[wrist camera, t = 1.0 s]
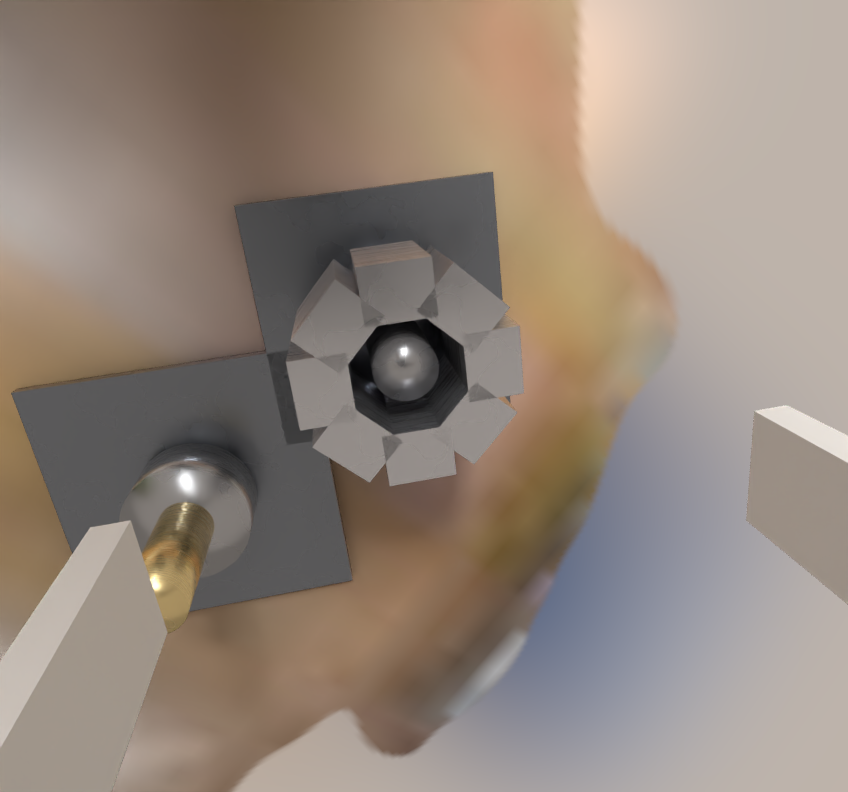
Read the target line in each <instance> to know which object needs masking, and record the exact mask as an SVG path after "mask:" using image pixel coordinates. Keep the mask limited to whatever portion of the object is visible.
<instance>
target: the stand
mask: <svg viewBox="0 0 848 792" xmlns="http://www.w3.org/2000/svg"><path fill="white" fill-rule="evenodd" d="M234 207H235V211H236V216H237V221H238V225H239V230H240V234H241V239H242V243H243V248H244V253H245V257H246V262H247V266H248V271H249V275H250V280H251V285H252V289H253V294H254V298H255V303H256V307H257V312H258V317H259V321H260V326H261V330H262V335H263V339H264V344H265V348H266V353H267V354H268V353H269V354H268V355H270V356H271V357H272V355H273V354H275V353H274V352H276V354H278V352H280V353H279V354H281V352H283V351H287V352H288V350H289V345H290V341H291V336H292V331H293V327H294V322H295V317H296V313H297V309H298V307H299V306H300V305H301V303H302V302H303V301H304V299H305V298H306V296H307V295H308V294H309V292H310V291H311V289H312V288H313V287H314V285H315V284H316V283H317V281H318V280H319V278H320V277H321V276H322V274H323V273H324V271H325V270H326V269H327V267H328V266H329V264H330V263H331V262H332V260H333V259H334V260H336V261H337V262H338V263H340V264H341V265H343V266H344V267H345V268H347V269H348V270H349V271H351V272H352V273H353V274H354V272H353V266H352V260H351V253H350V249H354V248H361V247H368V246H375V245H382V244H389V243H396V242H404V241H411V240H412V241H414V242H415V243H416V244H417V245H419V246H420V247H421V248H422V249H423V250H425V251H426V250H427V249H428V247H429V246H432V247H433V248H435V249H436V250H437V251H439V252H440V253H442V254H443V255H444V256H446V257H447V258H449V259H450V260H451V261H453V262H454V263H455V264H457V265H458V266H459V267H460V268H462V269H463V270H464V271H465V272H467V273H468V274H469V275H470V276H472V277H473V278H474V279H475V280H477V281H478V282H479V283H480V284H482V285H483V286H484V287H485V288H487V289H488V290H489V291H490V292H492V293H493V294H494V295H495V296H497V297H498V298H499V299H500V300H502V287H501V274H500V261H499V247H498V234H497V221H496V207H495V194H494V181H493V172H486V173H478V174H470V175H463V176H455V177H447V178H440V179H432V180H424V181H417V182H409V183H402V184H394V185H386V186H379V187H371V188H363V189H356V190H348V191H341V192H333V193H325V194H318V195H310V196H302V197H295V198H287V199H280V200H272V201H264V202H257V203H249V204H241V205H235V206H234ZM287 352H286V353H287ZM271 353H272V354H271ZM283 353H284V352H283ZM283 353H282V355H284V354H285V356H284V357H286V356H287V355H286V353H284V354H283ZM443 353H444V352H443V343H442V334H441V329H440V328H438V327H437V326H436V325H434V324H433V323H432V322H430V321H429V320H428V319H426V318H425V319H419V320H412V321H406V322H399V323H393V324H386V325H379V326H377V327H376V328H375V330H374V331H373V332H372V333H371V335H370V336H369V337H368V339H367V340H366V341H365V343H364V344H363V345H362V347H361V348H360V349H359V351H358V352H357V353H356V355H355V356H354V357H353V359H352V360H351V361H350V367H351V368H352V369H354V370H355V371H357V372H358V373H359V374H361V375H362V376H364V377H365V378H367V379H368V380H370V381H371V382H373V383H374V384H376V385H377V387H378V388H379V389H380V391H381V392H382V393H384V394H385V395H386V396H388V397H390V398H392V399H395V400H399V401H411V400H415V399H418V398H420V397H422V396H423V395H425V394H426V393H427V392H429V391H430V389H431V388H432V387H433V386H434V384H435V382H436V380H437V377H438V373H439V363H438V359H439V358H440V357H441V355H442V354H443ZM279 354H278V355H279ZM287 354H288V353H287ZM278 355H276V356H278ZM280 356H281V355H280ZM280 356H278V357H277V358H275V360H276V359H277V360H276V361H275V360H273V359H274V358H273V357H272V358H271V357H267V358H269V359H270V360H272V361H275V362H273V363H272V361H271V362H270V361H269V360H268V361H269V363H270V364H269V366H270V365H271V366H272V364H273V365H274V366H275V365H276V364H277V366H275V367H276V369H280V366H282V368H283V366H285V367H286V369H285V368H284V369H285V370H287V365H286V360H284V357H283V356H282V357H283V360H282V357H281V361H283V362H284V363H285V364H284V363H283V362H282V363H283V364H282V363H281V361H280V359H279V358H280ZM274 357H275V356H274ZM285 359H287V357H286V358H285ZM278 360H279V361H280V363H278V362H279V361H278ZM276 362H277V363H276ZM274 363H276V364H274ZM279 364H280V366H279V367H278V365H279ZM277 367H278V368H277ZM272 368H274V367H273V366H272ZM272 368H271V370H272ZM282 368H281V369H282ZM281 369H280V372H282V370H281ZM271 370H270V371H271ZM285 370H284V372H283V375H282V373H281V374H280V373H278V372H277V371H278V370H276V371H275V370H274V369H273V371H275V372H277V373H278V374H279V375H277V373H276V374H275V372H274V373H273V371H271V376H273V375H274V376H275V377H278V376H280V375H281V376H282V377H283V379H281V378H282V377H281V376H280V377H281V378H280V377H278V378H280V379H279V380H281V383H282V381H283V380H284V379H286V377H287V376H288V375H287V374H286V371H285ZM284 373H285V375H284ZM272 374H273V375H272ZM276 375H277V376H276ZM284 376H285V377H284ZM275 377H274V378H272V379H273V380H274V379H277V378H275ZM288 378H289V377H287V379H286V380H289V379H288ZM279 380H276V381H279ZM289 381H290V380H289ZM289 381H286V383H287V382H289ZM283 383H284V384H285V380H284V382H283ZM283 383H282V384H281V385H282V386H283ZM289 383H290V382H289ZM273 384H275V380H274V383H273ZM275 385H276V384H275ZM275 385H274V386H275ZM277 385H280V382H277ZM288 385H289V384H287V385H286V386H288ZM284 386H285V385H284ZM284 386H283V387H284ZM276 387H277V386H276ZM276 387H274V388H275V389H276ZM283 387H280V386H279V387H278V389H277V390H279V388H280V391H281V392H282V390H283V392H284V393H285V392H287V394H288V395H287V394H284V395H287V396H288V398H289V397H290V398H289V399H291V398H292V397H293V396H291V395H292V392H291V393H290V391H292V389H291V385H290V386H288V387H289V390H290V391H287V390H286V391H285V390H284V389H286V388H285V387H284V389H283ZM281 389H282V390H281ZM281 392H280V395H279V394H278V395H279V396H278V395H277V397H276V399H278V400H277V401H280V402H281V403H282V404H283V405H284V404H285V405H284V406H285V407H283V410H282V411H284V412H282V411H281V412H282V415H283V417H282V419H283V420H284V421H282V420H281V421H282V422H284V423H282V426H284V427H283V428H285V427H286V428H287V427H288V425H287V423H288V424H289V426H290V427H291V429H290V428H289V427H288V428H287V430H289V431H290V430H291V431H292V428H293V429H295V428H296V427H297V426H299V424H298V423H297V422H298V420H296V419H297V418H296V417H297V416H296V417H293V416H295V414H293V413H294V412H295V411H296V409H295V410H294V408H295V407H294V404H293V406H291V405H290V406H291V407H290V406H289V405H288V404H287V406H288V407H290V409H289V408H288V409H289V410H287V408H286V407H287V406H286V403H288V402H290V403H291V402H292V403H294V402H293V401H290V400H289V401H288V398H287V399H286V400H287V401H288V402H287V401H286V400H285V399H284V398H283V396H281V395H283V393H281ZM288 392H289V393H288ZM277 393H279V392H277ZM275 394H276V391H275ZM289 394H290V396H289ZM287 396H284V397H285V398H286V397H287ZM281 397H282V398H283V399H284V400H285V402H286V403H285V402H282V401H283V400H282V399H281ZM505 397H506V399H507V400H508V401H509V402H510V396H505ZM292 399H293V398H292ZM292 399H291V400H292ZM281 400H282V401H281ZM280 402H278V403H279V404H278V408H279V409H281V406H282V404H281V403H280ZM290 403H289V404H290ZM292 403H291V404H292ZM280 404H281V405H280ZM279 405H280V407H279ZM292 407H294V408H292ZM284 408H285V409H286V410H284ZM291 408H292V409H293V410H292V409H291ZM290 410H291V411H290ZM285 411H286V412H287V411H288V412H289V411H290V412H291V414H292V415H293V416H292V415H291V416H292V417H293V418H294V419H292V417H291V416H290V417H291V418H290V420H291V421H292V422H291V421H290V420H288V419H289V417H286V418H284V416H287V415H290V413H289V414H287V413H285ZM293 411H294V412H293ZM279 412H280V411H279ZM292 412H293V413H292ZM280 414H281V413H280ZM284 414H285V415H284ZM286 414H287V415H286ZM296 415H297V414H296ZM280 417H281V415H280ZM287 418H288V419H287ZM286 419H287V420H286ZM294 420H295V421H294ZM286 421H287V422H286ZM288 421H289V422H291V423H292V424H293V423H294V422H296V421H297V422H296V423H297V426H296V425H295V423H294V425H291V423H289V422H288ZM285 422H286V424H285ZM283 424H284V425H283ZM286 425H287V426H286ZM293 426H294V427H295V428H294V427H293ZM298 428H299V427H298ZM283 430H285V429H283ZM296 430H297V431H296V432H298V430H299V431H300V428H299V429H297V428H296ZM285 431H286V430H285ZM289 431H288V432H289ZM310 431H313V430H311V429H310ZM310 431H309V429H307V430H306V431H305V430H304V431H303V432H302V430H301V432H298V433H296V434H297V435H298V436H299V435H301V434H302V433H303V435H302V437H300V436H299V437H300V438H299V437H297V436H296V437H297V438H296V437H293V438H294V441H293V442H292V441H291V440H290V439H291V438H290V437H292V435H291V433H292V432H293V431H292V432H289V433H290V434H289V437H288V435H287V434H288V432H287V431H286V432H284V433H286V435H287V437H288V440H290V441H291V442H292V443H294V444H295V443H296V444H297V443H298V441H295V439H296V440H298V439H301V438H303V437H304V434H305V432H306V436H305V437H307V438H308V437H309V436H308V435H307V434H309V433H308V432H310ZM299 433H301V434H299ZM311 433H312V435H313V432H310V434H311ZM292 434H294V432H293V433H292ZM296 434H294V435H293V436H295V435H296ZM310 434H309V435H310ZM284 435H285V434H284ZM312 435H310V437H311V438H312V437H313V436H312ZM287 437H286V438H285V440H286V441H288V440H287ZM305 437H304V438H305ZM289 438H290V439H289ZM304 438H303V439H304ZM307 438H305V439H304V441H302V442H307V441H308V440H309V439H311V438H308V439H307ZM303 439H301V440H303ZM306 439H307V441H306ZM301 440H300V442H301ZM312 440H313V438H312V439H311V441H312ZM290 441H289V442H290ZM309 441H310V440H309ZM289 442H286V443H289ZM291 442H290V444H291ZM302 442H301V443H302ZM290 444H287V445H290Z"/></svg>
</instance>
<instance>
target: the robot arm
mask: <svg viewBox="0 0 848 792" xmlns="http://www.w3.org/2000/svg"><path fill="white" fill-rule="evenodd" d="M753 422H754V423H753V435H752V448H751V462H750V476H749V490H748V503H747V517H746V521H748V522H749V523H750V524H751V525H752V526H753V527H755V528H756V529H757V530H758V531H760V532H761V533H762V534H763V535H764V536H765V537H767V538H768V539H769V540H770V541H772V542H773V543H774V544H775V545H776V546H778V547H779V548H780V549H781V550H782V551H784V552H785V553H786V554H787V555H788V556H790V557H791V558H792V559H793V560H795V561H796V562H797V563H798V564H799V565H801V566H802V567H803V568H804V569H805V570H807V571H808V572H809V573H810V574H811V575H813V576H814V577H815V578H816V579H818V580H819V581H820V582H821V583H822V584H824V585H825V586H826V587H827V588H828V589H830V590H831V591H832V592H833V593H834V594H836V595H837V596H838V597H839V598H841V599H842V600H843V601H844V602H845V603H847V604H848V436H847V435H845V434H843V433H841V432H839V431H837V430H835V429H833V428H831V427H829V426H827V425H825V424H823V423H821V422H819V421H817V420H815V419H813V418H811V417H809V416H807V415H805V414H803V413H801V412H799V411H797V410H796V409H794V408H792V407H790V406H788V405H785V406H780V407H774V408H768V409H763V410H757V411H754V420H753ZM167 633H168V632H167V629H166V626H165V623H164V620H163V617H162V614H161V611H160V608H159V605H158V602H157V599H156V596H155V593H154V590H153V587H152V584H151V581H150V578H149V574H148V571H147V568H146V565H145V562H144V559H143V556H142V553H141V550H140V547H139V544H138V541H137V538H136V535H135V532H134V529H133V526H132V523H131V520H130V521H124V522H118V523H113V524H107V525H101V526H96V527H90V529H89V530H88V532H87V533H86V534H85V536H84V537H83V539H82V540H81V542H80V543H79V545H78V546H77V548H76V549H75V551H74V552H73V554H72V555H71V557H70V558H69V560H68V561H67V563H66V564H65V566H64V567H63V569H62V570H61V572H60V573H59V575H58V576H57V578H56V579H55V580H54V582H53V583H52V585H51V586H50V588H49V589H48V591H47V592H46V594H45V595H44V597H43V598H42V600H41V601H40V603H39V604H38V606H37V607H36V609H35V610H34V612H33V613H32V615H31V616H30V618H29V619H28V621H27V622H26V624H25V625H24V626H23V628H22V629H21V631H20V632H19V634H18V635H17V637H16V638H15V640H14V641H13V643H12V644H11V646H10V647H9V649H8V650H7V652H6V653H5V655H4V656H3V658H2V659H1V661H0V792H112V789H113V787H114V784H115V781H116V778H117V775H118V772H119V769H120V767H121V764H122V761H123V758H124V755H125V752H126V749H127V747H128V744H129V741H130V738H131V735H132V732H133V729H134V727H135V724H136V721H137V718H138V715H139V712H140V710H141V707H142V704H143V701H144V698H145V695H146V692H147V690H148V687H149V684H150V681H151V678H152V675H153V672H154V670H155V667H156V664H157V661H158V658H159V655H160V652H161V650H162V647H163V644H164V641H165V638H166V635H167Z"/></svg>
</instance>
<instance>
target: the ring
mask: <svg viewBox="0 0 848 792" xmlns="http://www.w3.org/2000/svg"><path fill="white" fill-rule="evenodd" d="M350 253H351V260H352V266H353V272H354V274H353V273H352V272H351V271H349V270H348V269H347V268H345V267H344V266H343V265H341V264H340V263H338V262H337V261H336V260H334V259H333V260H332V262H331V263H330V264H329V266H328V267H327V269H326V270H325V271H324V273H323V274H322V276H321V277H320V278H319V280H318V281H317V283H316V284H315V285H314V287H313V288H312V289H311V291H310V292H309V294H308V295H307V296H306V298H305V299H304V301H303V302H302V303H301V305H300V306H299V307H298V309H297V313H296V317H295V322H294V327H293V331H292V336H291V341H290V345H289V350H288V354H287V359H286V365H287V370H288V375H289V380H290V385H291V389H292V394H293V399H294V404H295V409H296V413H297V418H298V423H299V428H300V431H301V430H307V429H313V440H312V448H314V449H316V450H317V451H319V452H321V453H322V454H324V455H325V456H327V457H329V458H330V459H332V460H334V461H335V462H337V463H338V464H340V465H342V466H343V467H345V468H346V469H348V470H350V471H351V472H353V473H355V474H356V475H358V476H359V477H361V478H363V479H364V480H366V481H368V482H369V483H370V482H371V481H372V479H373V478H374V477H375V476H376V474H377V473H378V472H379V471H380V469H381V468H382V467H383V465H384V464H385V465H386V470H387V475H388V480H389V486H395V485H400V484H406V483H412V482H417V481H423V480H428V479H434V478H440V477H445V476H451V475H457V474H456V466H455V457H454V451H455V452H457V453H458V454H459V455H461V456H462V457H464V458H465V459H467V460H468V461H470V462H471V463H473V464H475V463H476V462H477V460H478V459H479V458H480V457H481V456H482V454H483V453H484V452H485V451H486V450H487V448H488V447H489V446H490V445H491V444H492V442H493V441H494V440H495V439H496V438H497V436H498V435H499V434H500V433H501V432H502V430H503V429H504V428H505V427H506V426H507V424H508V423H509V422H510V421H511V420H512V418H513V417H514V416H515V415H516V414H517V411H516V410H515V409H514V407H513V406H512V405H511V404H510V402H509V401H508V400H507V399H506V397H505V396H511V395H517V394H523V393H524V386H523V371H522V356H521V341H520V326H519V325H518V324H517V323H515V322H514V321H513V320H512V319H510V318H509V317H508V316H507V315H506V314H505V313H506V312H507V310H508V309H509V308H510V307H509V306H508V305H507V304H505V303H504V302H503V301H502V300H500V299H499V298H498V297H497V296H495V295H494V294H493V293H492V292H490V291H489V290H488V289H487V288H485V287H484V286H483V285H482V284H480V283H479V282H478V281H477V280H475V279H474V278H473V277H472V276H470V275H469V274H468V273H467V272H465V271H464V270H463V269H462V268H460V267H459V266H458V265H457V264H455V263H454V262H453V261H451V260H450V259H449V258H447V257H446V256H444V255H443V254H442V253H440V252H439V251H437V250H436V249H435V248H433V247H432V246H429V247H428V249H427V250H426V251H425V250H423V249H422V248H421V247H420V246H419V245H417V244H416V243H415V242H414V241H412V240H411V241H404V242H396V243H389V244H382V245H375V246H368V247H361V248H354V249H350ZM425 318H426V319H428V320H429V321H430V322H432V323H433V324H434V325H436V326H437V327H438V328H440V329H441V334H442V343H443V352H444V353H443V354H442V355H441V357H440V358H439V359H438V363H439V373H438V377H437V380H436V382H435V384H434V386H433V387H432V388H431V389H430V391H429V392H427V393H426V394H425V395H423V396H422V397H420V398H418V399H415V400H411V401H399V400H395V399H392V398H390V397H388V396H386V395H385V394H384V393H382V392H381V391H380V389H379V388H378V387H377V385H376V384H374V383H373V382H371V381H370V380H368V379H367V378H365V377H364V376H362V375H361V374H359V373H358V372H357V371H355V370H354V369H352V368H351V367H350V361H351V360H352V359H353V357H354V356H355V355H356V353H357V352H358V351H359V349H360V348H361V347H362V345H363V344H364V343H365V341H366V340H367V339H368V337H369V336H370V335H371V333H372V332H373V331H374V330H375V328H376V327H377V326H379V325H386V324H393V323H399V322H406V321H412V320H419V319H425Z"/></svg>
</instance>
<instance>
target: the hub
mask: <svg viewBox="0 0 848 792" xmlns="http://www.w3.org/2000/svg"><path fill="white" fill-rule="evenodd" d="M283 352H284V353H286V352H287V351H283ZM283 352H281V354H279V353H280V352H278V354H279V355H278V354H276V352H274V353H275V354H273V355H272V357H273V358H274V359H273V360H275V358H277V357H278V356H280V355H281V356H280V358H279V359H280V361H281V357H282V356H283V357H284V356H285V354H284V353H283ZM282 353H283V354H284V355H282ZM287 353H288V352H287ZM287 353H286V355H287ZM268 354H269V353H268ZM268 354H267V353H266V351H260V352H253V353H247V354H240V355H234V356H227V357H221V358H214V359H208V360H201V361H195V362H188V363H182V364H175V365H169V366H162V367H156V368H149V369H143V370H136V371H130V372H123V373H117V374H110V375H104V376H97V377H91V378H84V379H78V380H71V381H65V382H58V383H52V384H45V385H39V386H32V387H26V388H19V389H16V390H15V391H13V392H12V393H11V394H12V397H13V399H14V402H15V404H16V407H17V410H18V412H19V415H20V418H21V420H22V423H23V425H24V428H25V431H26V433H27V436H28V439H29V441H30V444H31V446H32V449H33V452H34V454H35V457H36V459H37V462H38V465H39V467H40V470H41V473H42V475H43V478H44V480H45V483H46V486H47V488H48V491H49V494H50V496H51V499H52V501H53V504H54V507H55V509H56V512H57V515H58V517H59V520H60V522H61V525H62V528H63V530H64V533H65V536H66V538H67V541H68V543H69V546H70V549H71V551H72V554H73V552H74V551H75V549H76V548H77V546H78V545H79V543H80V542H81V540H82V539H83V537H84V536H85V534H86V533H87V532H88V530H89V529H90V527H96V526H101V525H107V524H113V523H118V522H124V521H130V520H131V523H132V526H133V529H134V532H135V535H136V538H137V541H138V544H139V547H140V550H141V553H142V556H143V559H144V562H145V565H146V568H147V571H148V574H149V578H150V581H151V584H152V587H153V590H154V593H155V596H156V599H157V602H158V605H159V608H160V611H161V614H162V617H163V620H164V623H165V626H166V629H167V632H168V633H170V632H173V631H175V630H176V629H178V628H179V627H180V626H181V625H182V624H183V623H184V622H185V620H186V618H187V616H188V613H189V611H194V610H200V609H205V608H210V607H215V606H221V605H226V604H231V603H236V602H241V601H247V600H252V599H257V598H262V597H268V596H273V595H278V594H283V593H289V592H294V591H299V590H304V589H310V588H315V587H320V586H325V585H330V584H336V583H341V582H346V581H351V580H352V571H351V566H350V561H349V555H348V550H347V545H346V540H345V535H344V529H343V524H342V519H341V514H340V509H339V504H338V498H337V493H336V488H335V483H334V478H333V473H332V467H331V462H330V458H329V457H327V456H325V455H324V454H322V453H321V452H319V451H317V450H316V449H314V448H312V441H311V439H312V438H313V437H312V438H311V437H310V435H312V433H311V434H310V432H313V431H310V429H309V431H310V432H308V433H309V434H310V435H309V434H307V435H308V436H309V437H308V438H311V439H309V440H310V441H309V440H308V441H307V439H308V438H307V437H305V436H306V432H305V434H304V437H305V438H307V439H306V441H307V442H302V441H304V439H305V438H304V437H303V438H304V439H303V438H301V439H303V440H301V439H298V440H296V439H295V441H298V443H297V444H296V443H295V444H294V443H292V442H293V441H294V438H293V437H296V436H297V437H299V436H300V437H302V435H303V433H302V434H301V433H299V434H301V435H299V436H298V435H297V434H296V433H298V432H301V431H299V430H298V432H296V431H297V430H296V428H297V429H299V428H298V427H299V426H297V423H298V422H297V421H296V422H297V423H296V422H294V423H295V425H296V426H297V427H296V428H295V427H294V426H293V427H294V428H295V429H293V428H292V431H293V432H294V434H296V435H295V436H293V435H294V434H292V433H293V432H292V431H291V430H290V431H289V430H287V428H288V427H289V428H290V429H291V427H290V426H289V424H288V423H287V425H288V427H287V428H286V427H285V428H283V427H284V426H282V423H284V422H282V421H284V420H283V419H282V417H283V415H282V412H284V411H282V410H283V407H285V406H284V405H285V404H284V405H283V404H282V403H281V402H280V401H277V400H278V399H276V397H277V395H278V394H279V395H280V392H281V391H280V388H279V390H277V389H278V387H279V386H280V387H283V386H284V385H285V386H284V387H285V388H286V389H284V387H283V389H284V390H285V391H286V390H287V391H290V390H289V387H288V386H290V383H289V382H290V381H289V380H286V379H287V377H289V375H288V370H285V369H286V367H285V366H283V368H282V366H280V364H279V365H278V367H279V366H280V369H281V368H282V369H281V370H282V372H280V369H276V367H275V366H277V364H276V363H277V362H276V363H274V364H276V365H275V366H274V365H273V364H272V366H273V367H274V368H272V366H271V365H270V366H269V364H270V363H269V361H270V362H271V361H272V360H270V359H269V358H267V357H271V356H270V355H268ZM271 354H272V353H271ZM276 355H278V356H276ZM274 356H275V357H274ZM272 357H271V358H272ZM283 357H282V360H283ZM286 357H287V356H286ZM286 357H284V360H286V359H285V358H286ZM268 360H269V361H268ZM276 360H277V359H276ZM276 360H275V361H276ZM275 361H272V363H273V362H275ZM278 361H279V360H278ZM280 361H279V362H278V363H280ZM282 362H283V361H281V363H282ZM283 363H284V362H283ZM283 363H282V364H283ZM284 364H285V363H284ZM278 367H277V368H278ZM271 368H272V370H271ZM284 368H285V369H284ZM273 369H274V370H275V371H276V370H278V371H277V372H278V373H280V374H281V373H282V375H283V372H284V370H285V371H286V374H287V375H288V376H287V377H286V379H284V380H285V384H284V383H283V382H284V380H283V381H282V383H283V386H282V385H281V384H282V383H281V380H279V379H280V378H281V377H282V376H281V375H280V376H281V377H280V376H278V377H280V378H278V377H275V376H274V375H273V374H272V375H273V376H271V371H273ZM270 370H271V371H270ZM275 371H273V373H274V372H275ZM277 372H275V374H276V373H277ZM278 373H277V375H279V374H278ZM277 375H276V376H277ZM284 375H285V373H284ZM274 377H275V378H277V379H274V380H275V384H276V385H275V384H273V383H274V380H273V379H272V378H274ZM284 377H285V376H284ZM281 379H283V377H282V378H281ZM288 379H289V378H288ZM276 380H279V381H276ZM286 381H289V382H287V383H286ZM277 382H280V385H277ZM287 384H289V385H288V386H286V385H287ZM274 385H275V386H274ZM276 386H277V387H276ZM274 387H276V389H275V388H274ZM281 390H282V389H281ZM275 391H276V394H275ZM277 392H279V393H277ZM291 392H292V391H290V393H291ZM281 393H283V395H281V396H283V398H284V399H285V400H286V399H287V398H288V396H287V395H288V394H287V392H285V393H284V392H283V390H282V392H281ZM288 393H289V392H288ZM284 394H287V395H284ZM279 395H278V396H279ZM284 396H287V397H286V398H285V397H284ZM289 396H290V394H289ZM291 396H293V394H292V395H291ZM283 398H282V397H281V399H282V400H283V401H282V400H281V401H282V402H285V400H284V399H283ZM289 398H290V397H289ZM289 398H288V401H289V400H290V401H293V402H294V399H292V398H293V397H292V398H291V399H292V400H291V399H289ZM286 401H287V400H286ZM288 401H287V402H288ZM278 402H280V403H281V404H282V406H281V409H279V408H278V404H279V403H278ZM285 403H286V402H285ZM289 403H290V402H288V403H286V406H287V404H288V405H289V406H290V405H291V406H293V404H294V403H292V402H291V403H292V404H291V403H290V404H289ZM281 404H280V405H281ZM280 405H279V407H280ZM291 406H290V407H291ZM290 407H288V406H287V407H286V408H287V410H289V409H290ZM294 407H295V404H294ZM294 407H292V408H294ZM288 408H289V409H288ZM292 408H291V409H292ZM284 410H286V409H285V408H284ZM292 410H293V409H292ZM294 410H295V408H294ZM279 411H280V412H279ZM281 411H282V412H281ZM290 411H291V410H290ZM290 411H289V412H288V411H287V412H286V411H285V413H287V414H289V413H290V415H287V414H286V415H287V416H284V418H286V417H289V419H288V418H287V419H288V420H290V418H291V417H292V416H293V415H292V414H291V412H290ZM293 412H294V411H293ZM293 412H292V413H293ZM280 413H281V414H280ZM293 414H295V416H293V417H296V416H297V415H296V414H297V413H296V411H295V412H294V413H293ZM280 415H281V417H280ZM284 415H285V414H284ZM291 415H292V416H291ZM290 416H291V417H290ZM293 417H292V419H294V418H293ZM296 418H297V417H296ZM287 419H286V420H287ZM281 420H282V421H281ZM296 420H298V418H297V419H296ZM290 421H291V420H290ZM294 421H295V420H294ZM286 422H287V421H286ZM286 422H285V424H286ZM288 422H289V421H288ZM291 422H292V421H291ZM291 422H289V423H291ZM294 423H293V424H292V423H291V425H294ZM298 424H299V423H298ZM283 425H284V424H283ZM287 425H286V426H287ZM283 429H285V430H286V431H287V432H288V431H289V432H292V433H291V435H292V437H290V438H291V439H290V438H289V439H290V440H291V441H292V442H291V441H290V440H288V437H289V434H290V433H289V432H288V434H287V435H288V437H287V435H286V433H284V432H286V431H285V430H283ZM311 430H313V429H311ZM303 431H304V430H302V432H303ZM305 431H306V430H305ZM284 434H285V435H284ZM312 436H313V435H312ZM286 437H287V440H288V441H286V440H285V438H286ZM297 437H296V438H297ZM300 437H299V438H300ZM300 440H301V442H302V443H301V442H300ZM289 441H290V442H291V444H290V442H289ZM286 442H289V443H286ZM287 444H290V445H287ZM168 633H167V634H168Z"/></svg>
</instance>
